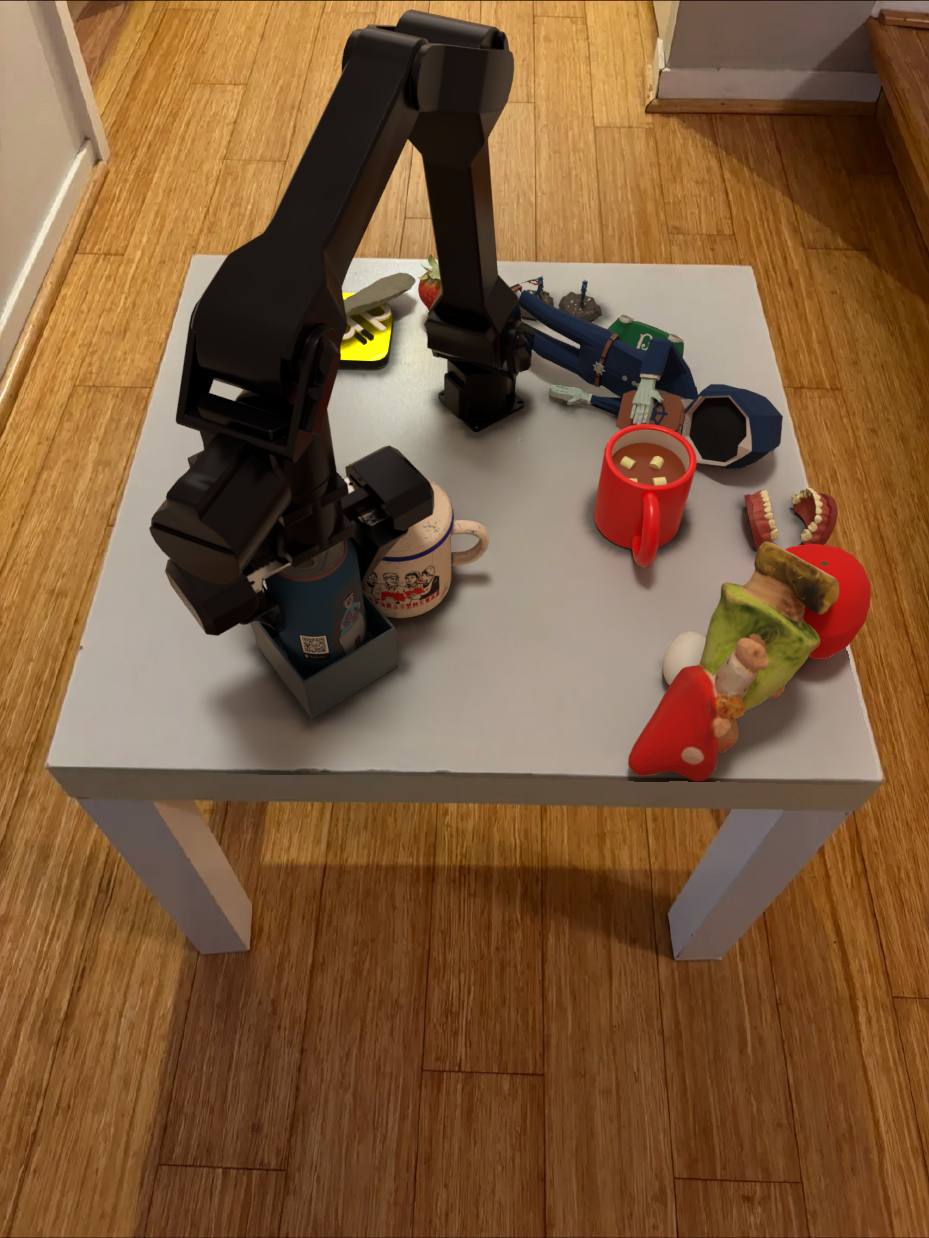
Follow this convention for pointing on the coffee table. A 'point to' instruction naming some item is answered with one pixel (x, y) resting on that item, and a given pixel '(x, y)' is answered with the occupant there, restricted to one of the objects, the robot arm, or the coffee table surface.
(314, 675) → the bin
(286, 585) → the soda can
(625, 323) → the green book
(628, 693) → the coffee table surface
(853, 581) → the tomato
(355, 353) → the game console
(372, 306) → the stone
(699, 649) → the egg
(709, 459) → the figurine
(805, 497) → the dentures
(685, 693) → the figurine
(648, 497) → the mug
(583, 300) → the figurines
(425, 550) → the teacup with lid
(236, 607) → the robot arm
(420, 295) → the fruit
